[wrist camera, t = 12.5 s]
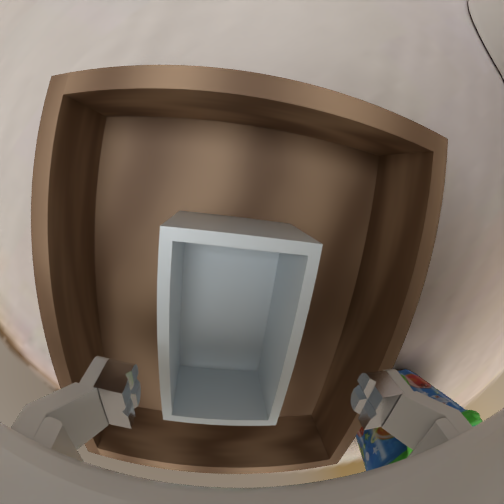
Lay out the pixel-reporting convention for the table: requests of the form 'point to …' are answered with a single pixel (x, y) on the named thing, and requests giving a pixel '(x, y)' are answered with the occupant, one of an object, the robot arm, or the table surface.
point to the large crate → (237, 205)
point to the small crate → (230, 316)
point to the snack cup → (387, 446)
